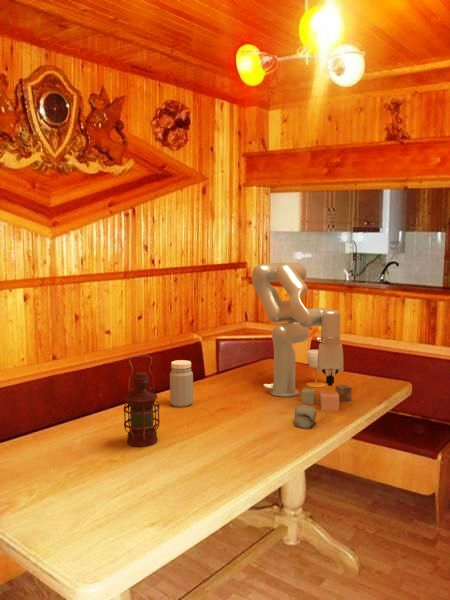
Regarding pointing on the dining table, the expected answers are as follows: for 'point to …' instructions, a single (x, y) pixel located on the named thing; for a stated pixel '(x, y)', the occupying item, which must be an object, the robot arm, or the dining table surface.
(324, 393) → the terracotta block
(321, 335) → the robot arm
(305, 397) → the greygreen block
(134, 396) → the lantern
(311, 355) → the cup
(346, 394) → the walnut block
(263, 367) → the dining table surface
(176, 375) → the jar
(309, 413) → the stone
